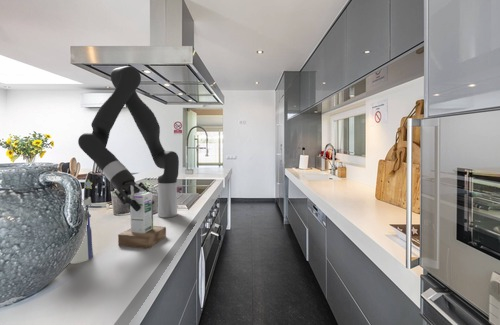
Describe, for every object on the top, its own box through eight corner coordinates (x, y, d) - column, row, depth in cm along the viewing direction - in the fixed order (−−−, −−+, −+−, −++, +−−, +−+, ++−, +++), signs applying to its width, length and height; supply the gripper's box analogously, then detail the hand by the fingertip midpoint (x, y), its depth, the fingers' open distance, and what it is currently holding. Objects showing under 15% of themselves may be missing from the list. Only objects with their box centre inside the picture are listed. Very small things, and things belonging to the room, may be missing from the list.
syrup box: (144, 233, 94) (144, 194, 93) (130, 232, 95) (129, 193, 94) (153, 228, 99) (153, 191, 98) (139, 227, 100) (139, 191, 99)
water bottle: (71, 253, 86) (69, 178, 84) (98, 252, 87) (96, 178, 85) (55, 264, 78) (53, 182, 76) (86, 263, 79) (84, 182, 77)
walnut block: (139, 234, 105) (138, 224, 104) (165, 236, 102) (165, 226, 102) (118, 245, 93) (118, 234, 93) (148, 248, 91) (148, 237, 90)
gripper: (111, 170, 90) (140, 204, 89) (136, 167, 104) (162, 196, 103) (98, 184, 92) (127, 218, 90) (125, 179, 106) (150, 208, 104)
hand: (146, 207), depth 96 cm, fingers open, 8 cm apart
